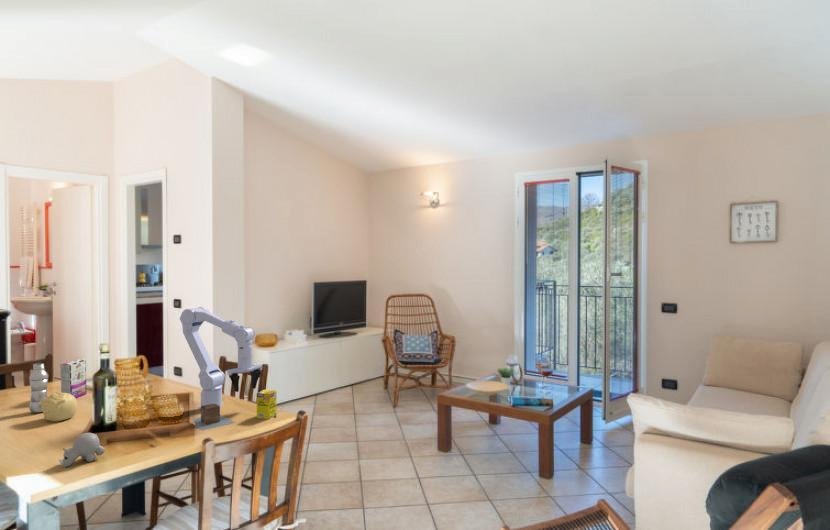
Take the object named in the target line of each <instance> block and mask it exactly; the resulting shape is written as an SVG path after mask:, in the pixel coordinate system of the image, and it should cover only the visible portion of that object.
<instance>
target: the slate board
mask: <svg viewBox="0 0 830 530" xmlns="http://www.w3.org/2000/svg"><path fill="white" fill-rule="evenodd" d="M193 419H194V423H195V426H194V427H195V428H197V429H199V430H201V431H206V430H210V429H215V428H218V427H219V428H220V427H224V426H229V425H232V424H235V423H236V421H234V420H231V419H230V418H227V417H226V416H223V415H221V414H220V422H216V423H212V424H207V425H206V424H204V423H203V422H201V416H200V417H196V418H193Z"/></svg>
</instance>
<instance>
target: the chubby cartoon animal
mask: <svg viewBox="0 0 830 530" xmlns="http://www.w3.org/2000/svg"><path fill="white" fill-rule="evenodd" d="M62 450H63V458H62V459H58V462H59V464H61V465H62V467H65V468H69V467H70V466H72V464H73V463H74V462H75V461H76V460H78V458H79V457H81V460H83V461H84V460H86V462H87V463H91V462H93V461H95V459H96V458H97V457H96V456H101V455H103V454H104V453H105V452H106V448H104V447H103V446H102V445H101V444H100V438H99V437H98V434H96V433H92V432H84V433H81V434H80V435H78V436H77V437H76V438H75V440H74V441H73V444H72V447H71V448H67V449H66V448H65V447H64V448H62Z"/></svg>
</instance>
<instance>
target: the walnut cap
mask: <svg viewBox="0 0 830 530" xmlns="http://www.w3.org/2000/svg"><path fill="white" fill-rule="evenodd" d="M200 407H201V409H200V417H201V422H203V423H204V424H206V425H207V424H212V423H216V422H220V415H221V408H220V406H218V405H216V404H209V405H204V406H201V405H200Z"/></svg>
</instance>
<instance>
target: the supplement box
mask: <svg viewBox="0 0 830 530" xmlns="http://www.w3.org/2000/svg"><path fill="white" fill-rule="evenodd" d="M277 393H278V391H277V390H276V389H274V390H273V389H263V390H261V391H258V392H256V418H257V419H265V420H270V419H272V418H274V419H275V417H276V418H277V409H278V408H277Z"/></svg>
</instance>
